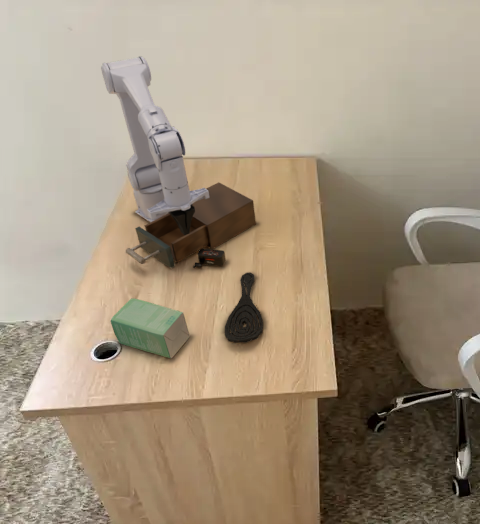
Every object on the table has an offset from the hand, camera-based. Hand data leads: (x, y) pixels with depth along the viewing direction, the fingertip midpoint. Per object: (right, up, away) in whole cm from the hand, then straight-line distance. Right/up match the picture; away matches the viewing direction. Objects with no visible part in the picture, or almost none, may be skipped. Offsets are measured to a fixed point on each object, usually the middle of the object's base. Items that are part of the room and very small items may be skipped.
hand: (185, 232), depth 137 cm
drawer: (-7, -4, +10) cm, 12 cm away
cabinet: (+3, +3, +19) cm, 20 cm away
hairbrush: (+16, -18, -6) cm, 25 cm away
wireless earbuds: (+4, -8, +6) cm, 11 cm away
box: (-3, -24, -14) cm, 28 cm away
